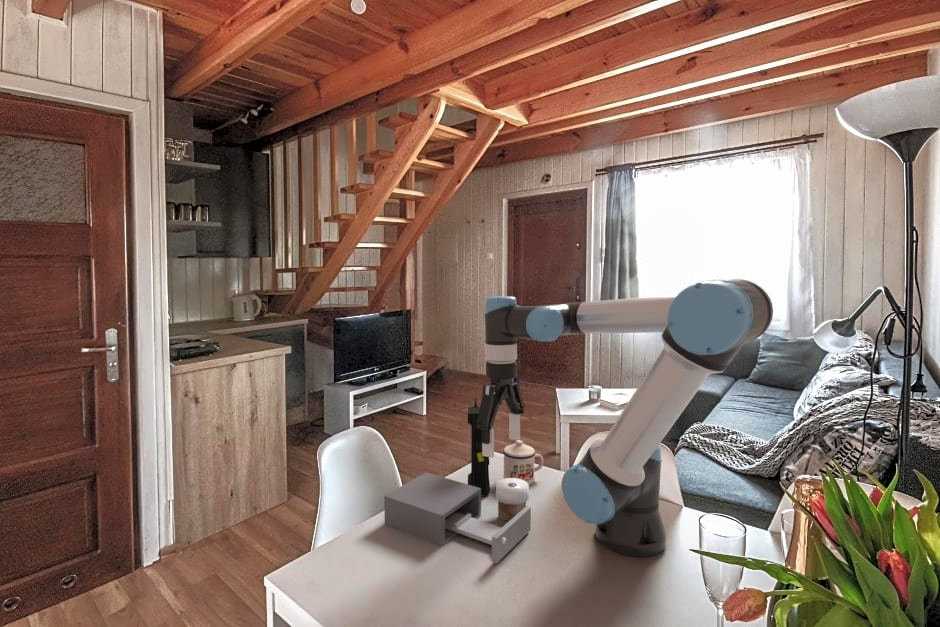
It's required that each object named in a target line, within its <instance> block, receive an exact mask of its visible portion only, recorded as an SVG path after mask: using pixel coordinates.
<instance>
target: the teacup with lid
mask: <svg viewBox="0 0 940 627" xmlns="http://www.w3.org/2000/svg"><path fill="white" fill-rule="evenodd" d="M502 453H503V479H505V478H517V479H521V480H524V481H526V482H527V483H528V484H529V486H530V485H532V484H533V483H534V482H535V472H537V471H540V470H541V469H542V468H543V466H544V462H545V461H544V460H545V459H544V457H543V455H541V454H539V453H536V451H535V449H534V448H533V447H532V446H531V445H527V444H525V443H524V442H523V441H522V440H521V439H520V440H515V443H513V444H510V445H509V444H508V445H506V446H505V447H504V448H503V451H502ZM535 458H540V459H539V460H540V462H539V464H538V466H536V467H535Z"/></svg>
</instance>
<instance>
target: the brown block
mask: <svg viewBox="0 0 940 627" xmlns="http://www.w3.org/2000/svg"><path fill="white" fill-rule="evenodd" d="M497 501H498V502H497V518H499V519H501V520H504V521H508V522H509V521H510V520H511V519H512V518H513V517H514V516H516V515H517V514H518V513H519V512H520V511H521V510H522V509H523V508H525V507H526V506H527V501H526V502H524V503H522V504H515V505H512V504H505V503H502V502H500V501H499V500H497Z"/></svg>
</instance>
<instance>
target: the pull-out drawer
mask: <svg viewBox="0 0 940 627" xmlns="http://www.w3.org/2000/svg"><path fill="white" fill-rule="evenodd" d="M531 509H532V508H531V506H528V505H526V507H525V508H523V509H522V510H521V511H520V512H519V513H518V514H517V515H516V516H514V517H513V518H512V519H511V520H510V521H508V522H506V523H505V524H504V525H503V526H499V525H496V524H493V523H489V522H487V521H483V520H480V519H479V518H477V519H475V518H472V517H471V514H470V513H468V514H467V515H463V514H460V513H457V512H456V513H454V514H453V515H451V516H450V517H449V518H447V519H446V520H445V529H448V530H451V531H454V532H457V533H458V535H459V534H460V535H463V536H465V537H468V538H471V539H474V540H475V541H480V542H482V543H485V544H488V545H490V546H491V562H492V563H493V564H498V563H499V562H500V561H501V560H502V559H503V558H504V557H505V556H506V555H507V554H508V553H509V552H510V551H511V550H512V549H513V548H514V547H515V546H516V545H517V544H518V543H519V542H520V541H521V540H522V539H523V538H524V537H525V536H526V535H527V534H528V533H529V532H530V531H531V527H532V526H531V523H532V522H531V521H532V520H531V519H532V518H531V516H532V514H531V513H532V512H531V511H532V510H531Z"/></svg>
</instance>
